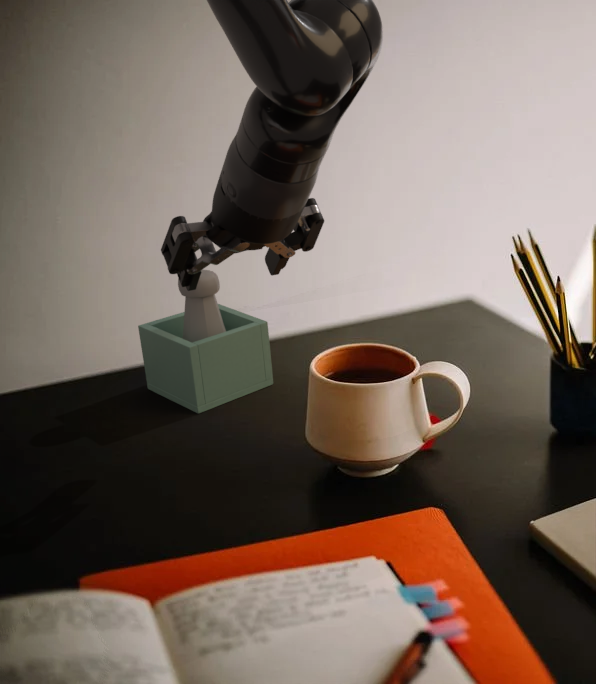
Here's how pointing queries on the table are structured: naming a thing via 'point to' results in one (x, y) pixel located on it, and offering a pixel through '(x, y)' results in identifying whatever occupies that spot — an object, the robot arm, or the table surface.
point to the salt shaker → (202, 308)
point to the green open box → (207, 360)
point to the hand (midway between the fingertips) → (230, 274)
